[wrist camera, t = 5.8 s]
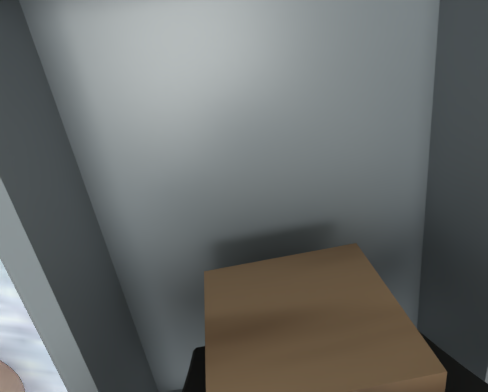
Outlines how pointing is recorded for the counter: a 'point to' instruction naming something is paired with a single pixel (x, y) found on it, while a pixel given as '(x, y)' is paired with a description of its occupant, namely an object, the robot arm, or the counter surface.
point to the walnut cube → (312, 328)
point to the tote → (236, 165)
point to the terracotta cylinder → (9, 380)
